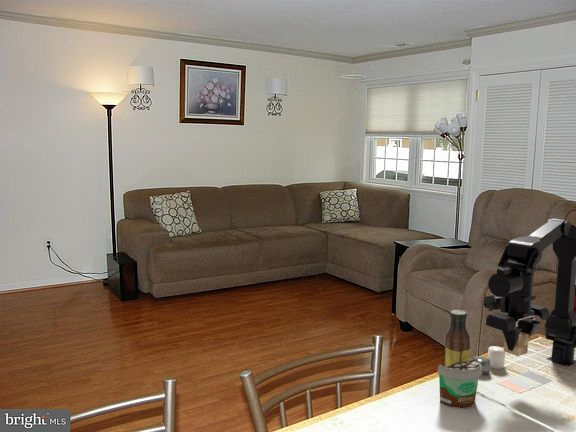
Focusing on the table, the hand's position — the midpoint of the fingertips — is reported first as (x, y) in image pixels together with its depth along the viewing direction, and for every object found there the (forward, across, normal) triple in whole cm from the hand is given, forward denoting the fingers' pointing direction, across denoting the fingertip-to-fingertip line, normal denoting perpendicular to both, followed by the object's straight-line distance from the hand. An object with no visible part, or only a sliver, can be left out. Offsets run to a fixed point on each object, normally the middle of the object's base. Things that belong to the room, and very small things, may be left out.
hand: (515, 348), depth 135 cm
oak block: (+1, 0, 0) cm, 1 cm away
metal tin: (+11, 0, -10) cm, 15 cm away
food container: (+11, +18, -2) cm, 21 cm away
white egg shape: (+11, -7, -10) cm, 17 cm away
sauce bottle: (+11, +11, -10) cm, 18 cm away
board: (+11, -5, 0) cm, 12 cm away
